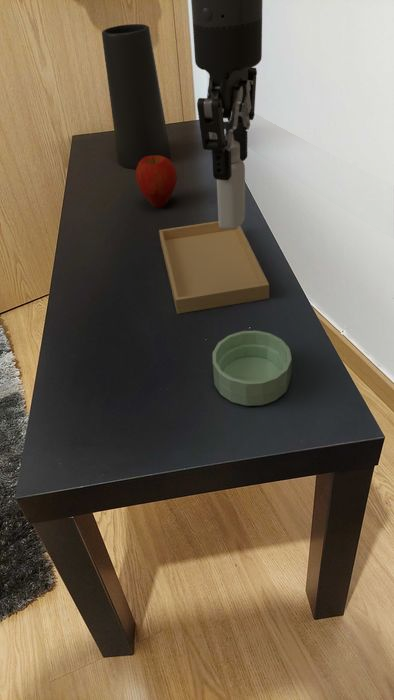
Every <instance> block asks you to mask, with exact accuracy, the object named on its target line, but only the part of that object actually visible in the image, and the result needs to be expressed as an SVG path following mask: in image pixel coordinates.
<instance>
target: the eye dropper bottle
mask: <svg viewBox="0 0 394 700" xmlns="http://www.w3.org/2000/svg"><path fill="white" fill-rule="evenodd" d="M245 166H246V165H245V162H244V161H242V160H241V159H240V144H239V142H237V141H235V140H234V137H233V132H232V142H231V169H232V176H231V177H230V179H229V180H218V179H216V195H217V196H216V197H217V217H218V219H217V221H219V227H220V228H222V229H231V230H233V229H236V228H238V227H239V226H241V225H242V224H243V223H244V221H245V219H246V167H245Z"/></svg>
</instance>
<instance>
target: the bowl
mask: <svg viewBox="0 0 394 700" xmlns="http://www.w3.org/2000/svg"><path fill="white" fill-rule="evenodd" d="M292 360H293V358H292V353H291V348H290V347H289V346H288V344H287V343H286V342H285V341H284V340H283V339H281V338H280V337H278V336H277V335H274V334H272V333H271V332H266V331H261V330H242V331H238V332H234V333H231V334H229V335H227V336H226V337H224V338H223V339H222V340H220V341H218V343H217V344H216V346H215V348H214V349H213V351H212V369H213V371H212V372H213V383H214V387H215V388H216V390H217V391H218V392H219V394H220V395H221V396H222V397H224V398H225V399H226V400H228V401H229V402H231V403H235V404H237V405H242V406H246V407H250V406H251V407H252V406H264V405H267V404H270V403H272V402H275V401H278V399H279V398H281V397H282V396H283V395H284V394H285V393H286V392H287V390H288V388H289V386H290V383H291V377H292V376H291V375H292Z"/></svg>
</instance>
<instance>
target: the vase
mask: <svg viewBox="0 0 394 700" xmlns="http://www.w3.org/2000/svg"><path fill="white" fill-rule="evenodd" d="M150 30H151V29H150V26H148V24H142V23H130V24H129V23H128V24H122V25H121V24H120V25H117V26H116V25H114V26H111V27H107V28H105V29H103V30H102V32H101V39H102V46H103V54H104V63H105V69H106V70H105V71H106V78H107V86H108V92H109V99H110V100H109V102H110V109H111V117H112V124H113V132H114V133H113V134H114V141H115V147H116V154H117V162H118V164H119V166H121V167H122V168H125V169H128V170H136V168H137V166H138V164H139V162H140V160H142V159H143V158H144V157H147V156H154V155H159V156H163V157H166V158H168V159H169V160H171V155H172V154H171V148H170V142H169V136H168V130H167V125H166V124H167V123H166V119H165V113H164V112H165V111H164V105H163V99H162V95H161V88H160V82H159V77H158V71H157V70H158V69H157V64H156V59H155V53H154V47H153V41H152V36H151V31H150Z"/></svg>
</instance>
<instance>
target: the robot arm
mask: <svg viewBox="0 0 394 700" xmlns="http://www.w3.org/2000/svg"><path fill="white" fill-rule="evenodd" d="M190 1H191V2H190V3H191V4H190V5H191V16H192V34H193V35H192V36H193V50H194V51H193V52H194V63H195V65H196V66H197V68H199V69H200V70H202V71H206V72H207V73H208V75H209V77H208V86H207V92H206V98H205V97H199V98H198V99H197V102H196V107H197V115H198V122H199V129H200V135H201V136H200V137H201V143H202V149H203V150H204V151H211V156H212V175H213V176H212V177H213V178H214V180H217V179H218V180H229V179H230V177H231V176H232V169H231V142H232V132H233V137H234V140H235V141H237V142H239V144H240V159H241V160H242V161H243V162H244V161H246V159H247V158H248V131H249V129H250V127H251V121H254V118H255V109H256V93H257V92H256V91H257V90H256V89H257V76H258V69H257V68H256V67H257V65H259V64H260V63H261V61H262V59H263V58H262V57H263V55H262V54H263V0H190ZM224 119H227V121H225V120H224Z"/></svg>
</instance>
